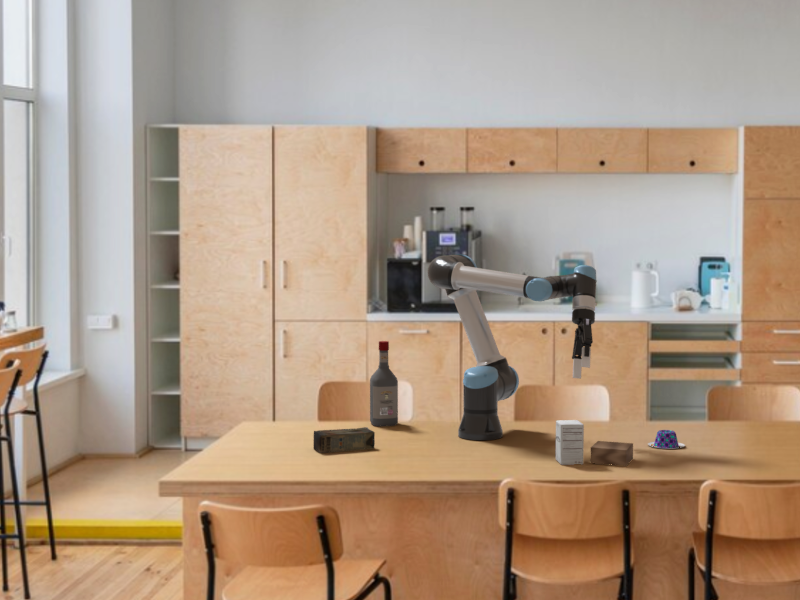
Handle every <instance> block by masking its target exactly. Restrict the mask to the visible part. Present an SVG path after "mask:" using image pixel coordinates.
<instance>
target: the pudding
mask: <svg viewBox="0 0 800 600" xmlns="http://www.w3.org/2000/svg"><path fill="white" fill-rule="evenodd" d="M651 444H654V445H653V446H654V447H653V446H651ZM647 445H648V446H649V447H652V448H657V449H666V450H674V449H678V448H679V446H680V448H679V449H681V448H684V447H686V444H685V443H681V442H678V438H677V433H676V432H675V431H674V430H670V429H660V430H658V431H657V433H656V436H655V439H654V441H651V442H648V443H647ZM655 446H657V447H655Z"/></svg>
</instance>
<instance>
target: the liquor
mask: <svg viewBox="0 0 800 600" xmlns="http://www.w3.org/2000/svg"><path fill="white" fill-rule="evenodd" d="M389 343H390V342H389V340H381V341H378V351H379V353H378V354H379V355H378V357H379V358H378V359H379V360H378V367H377V369H376V371H374V372H373V374H372V375H371V376H370V379H369V416H370V417H369V422H370V424H371V425H373V426H374V427H378V428H379V427H394V426H397V424H398V423H399V409H398V408H399V401H398V400H399V397H398V396H399V389H398V388H399V383H398V378H397V377H396V375H395V374H394V372H393V371H392V370H391V369H390V366H389V349H390V347H389V346H390V345H389Z"/></svg>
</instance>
